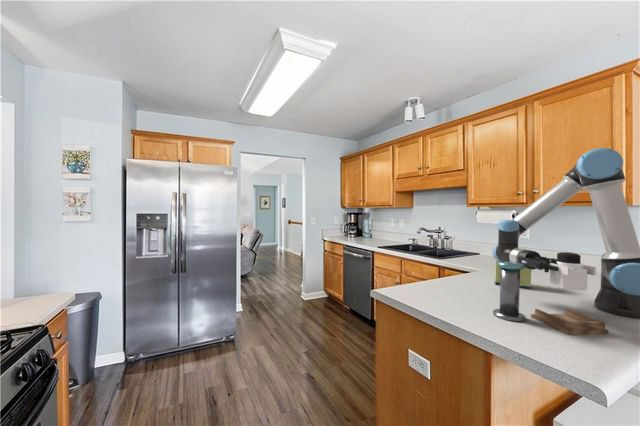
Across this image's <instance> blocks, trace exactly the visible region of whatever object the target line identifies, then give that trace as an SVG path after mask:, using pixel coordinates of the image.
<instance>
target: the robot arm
mask: <svg viewBox="0 0 640 426" xmlns="http://www.w3.org/2000/svg"><path fill="white" fill-rule="evenodd" d="M623 166H624V159H623V157H622V155H621V154H620V152H618V151H616V150H614V149H613V148H607V147H597V148H593V149H591V150H588V151H586V152H584V153H583V154H581V156H580V157H579V158H578V160H577V162H576V163H575V164H574V166H573V167H572V168H571V169H570V170H569V171H568V172H566V173H565V174H564V175H563V178H562V180H560V181H559V182H558V183H557V184H555V185H554V186H553V187H552V188H551V189H549V190H548V191H546V193H544V194H542V196H540V197H539V198H538V199H537V200H535V201H534V202H533V203H531V204H530V205H528V206H527V207H526V208H525V209H523V210H522V211H521V212H520V213H519V214H517V215H516V216H515V217H514V218H513V219H500V220H499V221H498V226H497V227H498V233H497V234H498V241H497V245H495V246H494V247H493V250H492V256H493V258H494V259H495V261H496V260H498V261H508V262H516V263H521V264H524V268H527V269H531V271H533V270H539V271H544V273H549V272H550V271H552V272H556V273H560V274H565V275H570V267H567V266H562V265H558V263H557V258H553V257H552V258H550V257H546V256H542V255H541V254H540V253H539V252H537V251H535V250H530V249H525V248H519V237H520V236H522V234H523V233H525V232H527V231H528V230H529V229H531V227H533V226H534V225H536V224H537V223H539V222H540V221H541V220H543V219H544V218H545V217H546V216H548V215H549V214H551V213H552V212H554V211H555V210H556V209H558V208H559V207H560V206H561V205H563V204H564V203H566V202H567V201H568V200H570V199H571V198H573V197H574V196H575V195H576V194H578V193H579V192H585V191H587V192H588V193H589V196H590V200H591V203H592V206H593V211H594V214H595V217H596V221H597V225H598V228H599V231H600V234H601V238H602V242H603V245H604V248H605V253H603V254H602V255H601V258H600V263H601V267H600V268H601V269H600V289H599V291H598V292H597V295H596V297H595V299H594V301H593V307H594V308H596V309H597V310H600V311H603V312H605V313H608V314H609V313H610V314H613V315H616V316H623V317H627V318H633V319H635V318H636V319H640V244H639V240H638V237H637V234H636V230H635V227H634V223H633V220H632V217H631V214H630V210H629V208H628V205H627V201H626V196H625V194H624V192H623V191H624V190H623V188H622V187H623V186H622V185H623V184H624V182H626V177H625V173H624V170H623ZM579 267H580V268H583V269H587V275H590V276H597V267H596V266H591V265H586V264H582V263H581V262H580V266H579Z"/></svg>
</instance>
